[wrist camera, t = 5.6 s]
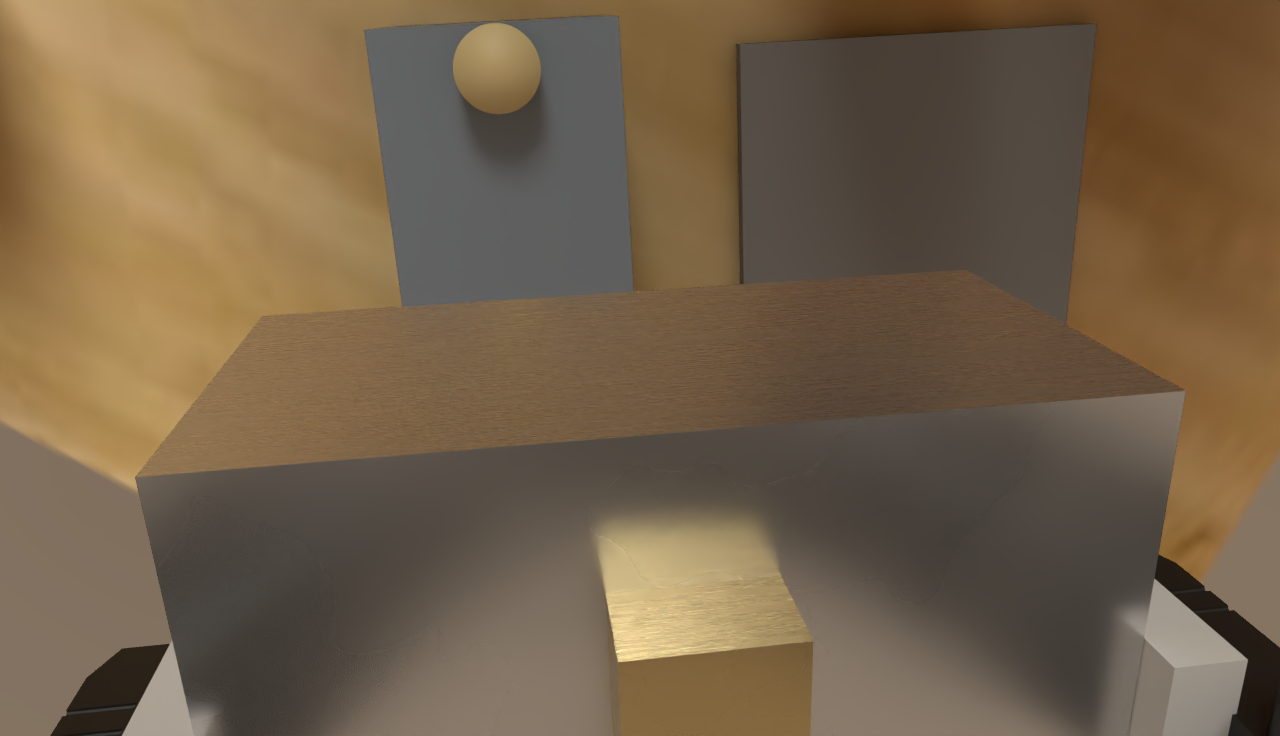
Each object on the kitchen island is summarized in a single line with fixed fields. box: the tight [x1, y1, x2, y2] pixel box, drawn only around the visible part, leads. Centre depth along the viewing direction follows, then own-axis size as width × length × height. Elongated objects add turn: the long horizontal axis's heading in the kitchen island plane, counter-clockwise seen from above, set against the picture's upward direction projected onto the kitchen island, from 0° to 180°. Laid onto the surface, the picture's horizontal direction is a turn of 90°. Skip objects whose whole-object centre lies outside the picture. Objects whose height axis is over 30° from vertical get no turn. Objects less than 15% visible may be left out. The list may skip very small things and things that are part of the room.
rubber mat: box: [736, 24, 1097, 324], centre depth 32 cm, size 14×11×1 cm
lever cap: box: [135, 270, 1186, 736], centre depth 11 cm, size 8×9×6 cm
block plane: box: [364, 15, 634, 307], centre depth 28 cm, size 16×6×6 cm, turn 3°
